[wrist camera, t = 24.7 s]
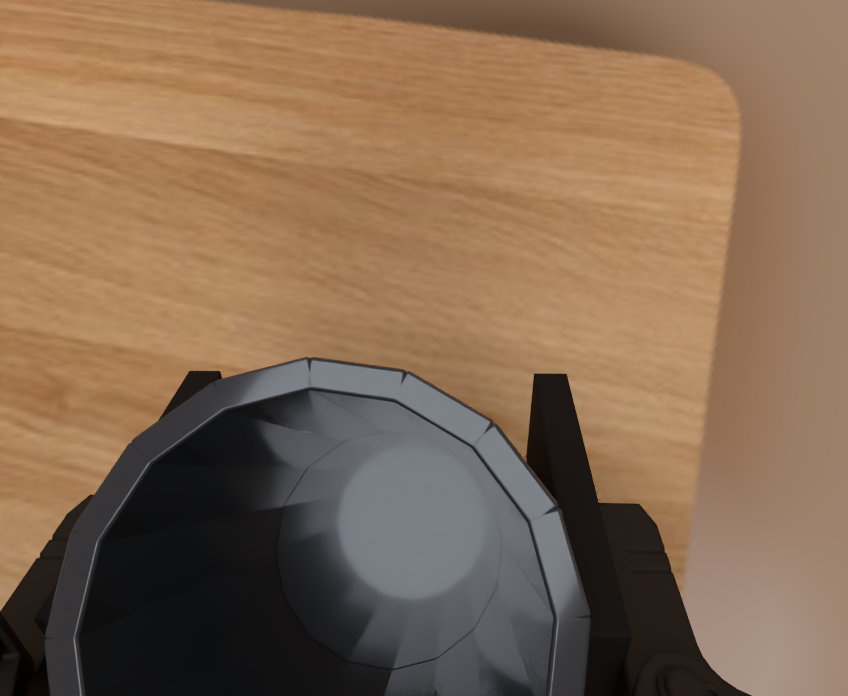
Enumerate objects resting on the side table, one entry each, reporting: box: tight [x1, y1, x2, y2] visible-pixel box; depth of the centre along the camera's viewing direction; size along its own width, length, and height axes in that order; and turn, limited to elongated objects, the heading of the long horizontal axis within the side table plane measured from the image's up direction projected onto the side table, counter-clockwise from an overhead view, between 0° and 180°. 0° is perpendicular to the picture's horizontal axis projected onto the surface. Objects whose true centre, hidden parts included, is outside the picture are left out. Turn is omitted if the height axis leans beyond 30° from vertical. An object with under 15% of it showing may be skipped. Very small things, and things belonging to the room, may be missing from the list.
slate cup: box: [44, 357, 591, 696], centre depth 13 cm, size 7×7×10 cm
